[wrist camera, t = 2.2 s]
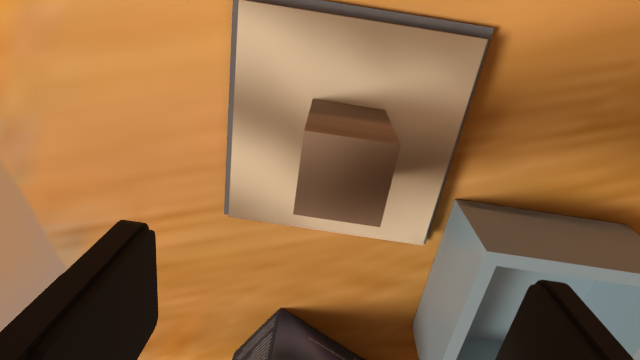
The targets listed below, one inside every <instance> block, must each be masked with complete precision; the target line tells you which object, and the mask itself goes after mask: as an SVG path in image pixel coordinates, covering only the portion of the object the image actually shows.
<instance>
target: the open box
mask: <svg viewBox="0 0 640 360" xmlns="http://www.w3.org/2000/svg"><path fill="white" fill-rule="evenodd" d="M539 280H548V281H555V282H562V283H566V284H568V285H569V286H570V287H571V288H572V289H573V290H574V292H575V293H576V294H577V295H578V296H579V297H580V298H581V300H582V301H583V302H584V303H585V304H586V305H587V306H588V308H589V309H590V310H591V311H592V312H593V313H594V314H595V316H596V317H597V318H598V319H599V320H600V321H601V322H602V323H603V325H604V326H605V327H606V328H607V329H608V330H609V331H610V333H611V334H612V335H613V336H614V337H615V338H616V339H617V341H618V342H619V343H620V344H621V345H622V346H623V347H624V349H625V350H626V351H627V352H628V353H629V354H630V355H631V357H632V358H633V359H634V360H640V235H639V234H637V233H636V232H635V231H633V230H632V229H631V228H630V227H628V226H627V225H625V224H618V223H612V222H605V221H598V220H592V219H585V218H578V217H572V216H565V215H558V214H552V213H545V212H539V211H532V210H525V209H519V208H512V207H505V206H499V205H492V204H485V203H479V202H472V201H465V200H459V199H455V201H454V204H453V206H452V209H451V212H450V215H449V218H448V221H447V224H446V227H445V230H444V233H443V236H442V239H441V242H440V245H439V248H438V251H437V254H436V257H435V260H434V262H433V265H432V268H431V271H430V274H429V277H428V280H427V283H426V286H425V289H424V292H423V295H422V298H421V301H420V304H419V307H418V310H417V313H416V315H415V318H414V321H413V324H412V331H413V335H414V339H415V344H416V348H417V353H418V357H419V360H495V359H496V356H497V354H498V352H499V350H500V348H501V346H502V344H503V341H504V339H505V337H506V335H507V333H508V331H509V328H510V326H511V324H512V322H513V320H514V318H515V315H516V313H517V311H518V309H519V307H520V305H521V302H522V300H523V298H524V296H525V294H526V292H527V290H528V288H529V286H531V285H533V284H535V283H536V282H537V281H539Z"/></svg>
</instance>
